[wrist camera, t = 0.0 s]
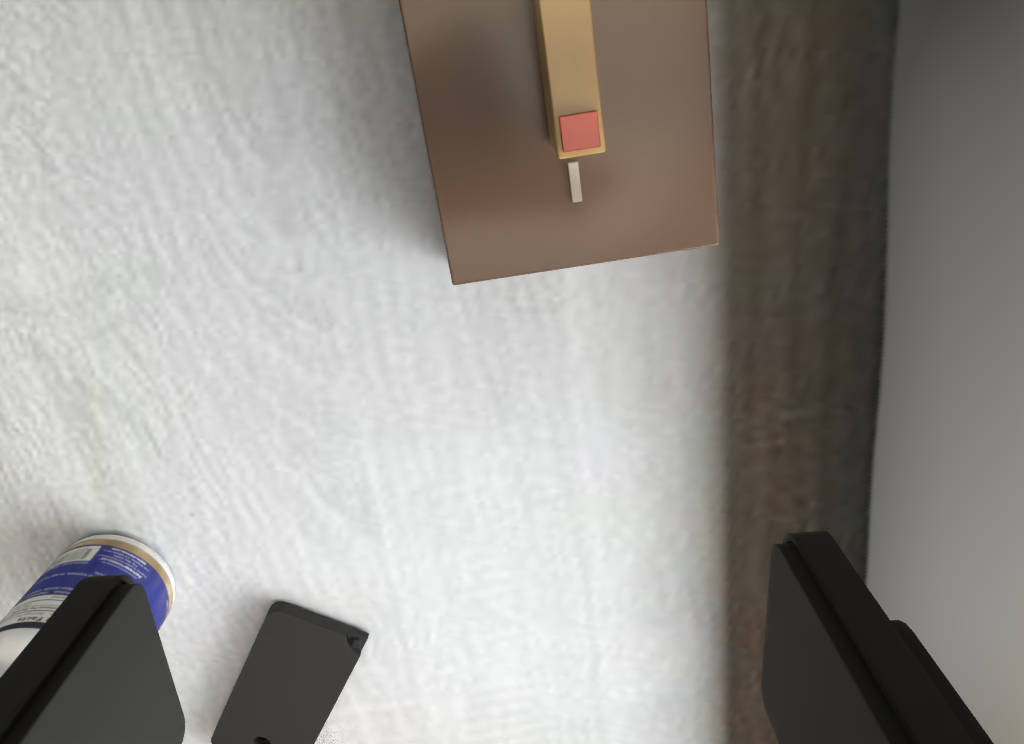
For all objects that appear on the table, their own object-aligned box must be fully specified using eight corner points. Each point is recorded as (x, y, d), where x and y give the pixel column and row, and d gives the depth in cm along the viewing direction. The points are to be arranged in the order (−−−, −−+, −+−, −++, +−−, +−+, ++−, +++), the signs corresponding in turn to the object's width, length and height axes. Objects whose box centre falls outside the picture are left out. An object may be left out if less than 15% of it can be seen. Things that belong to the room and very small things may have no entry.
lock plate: (383, -130, 26) (368, -155, 23) (675, -183, 25) (697, -215, 22) (457, 266, 31) (452, 287, 28) (700, 228, 31) (720, 246, 28)
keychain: (366, 643, 37) (297, 775, 41) (368, 633, 38) (301, 764, 41) (270, 608, 36) (207, 746, 40) (274, 598, 37) (212, 734, 41)
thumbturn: (529, -14, 24) (535, -32, 20) (572, -22, 24) (587, -41, 20) (550, 144, 26) (559, 160, 22) (590, 138, 26) (607, 153, 22)
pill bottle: (161, 640, 38) (52, 823, 29) (48, 601, 37) (-102, 778, 28) (194, 554, 36) (88, 721, 27) (75, 511, 35) (-76, 669, 26)
